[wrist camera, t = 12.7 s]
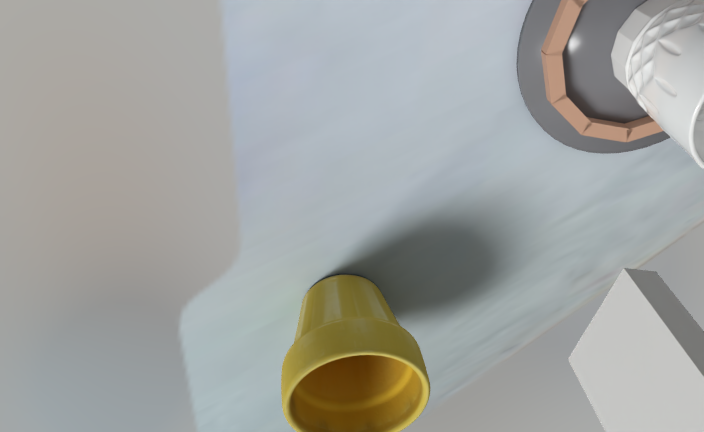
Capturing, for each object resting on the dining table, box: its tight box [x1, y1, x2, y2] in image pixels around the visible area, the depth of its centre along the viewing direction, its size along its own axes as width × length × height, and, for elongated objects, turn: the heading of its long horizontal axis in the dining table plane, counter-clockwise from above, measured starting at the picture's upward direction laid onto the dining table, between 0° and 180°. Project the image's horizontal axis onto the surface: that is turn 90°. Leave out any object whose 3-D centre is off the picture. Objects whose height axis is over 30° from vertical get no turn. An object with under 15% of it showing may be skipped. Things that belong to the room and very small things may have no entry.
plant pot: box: [281, 275, 430, 432], centre depth 45 cm, size 10×10×10 cm
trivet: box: [517, 0, 670, 153], centre depth 37 cm, size 16×16×1 cm
